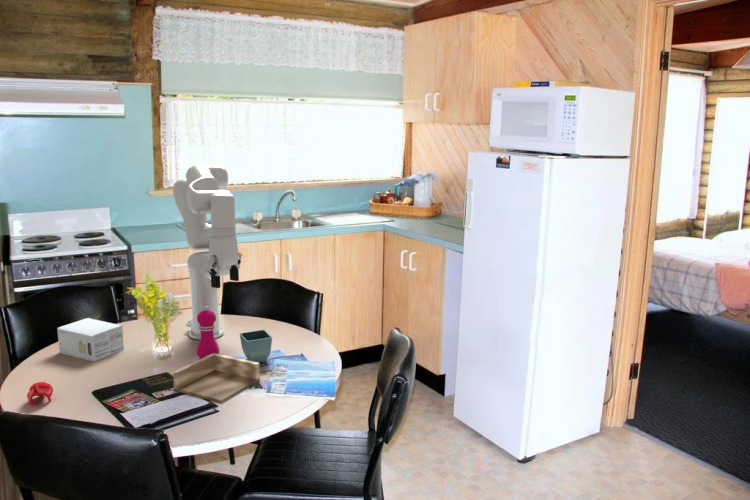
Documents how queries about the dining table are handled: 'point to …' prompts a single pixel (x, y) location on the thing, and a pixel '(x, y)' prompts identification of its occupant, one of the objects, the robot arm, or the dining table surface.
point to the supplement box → (90, 339)
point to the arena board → (217, 386)
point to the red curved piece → (40, 391)
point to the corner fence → (215, 368)
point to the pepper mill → (206, 333)
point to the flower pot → (256, 345)
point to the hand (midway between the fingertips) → (225, 283)
